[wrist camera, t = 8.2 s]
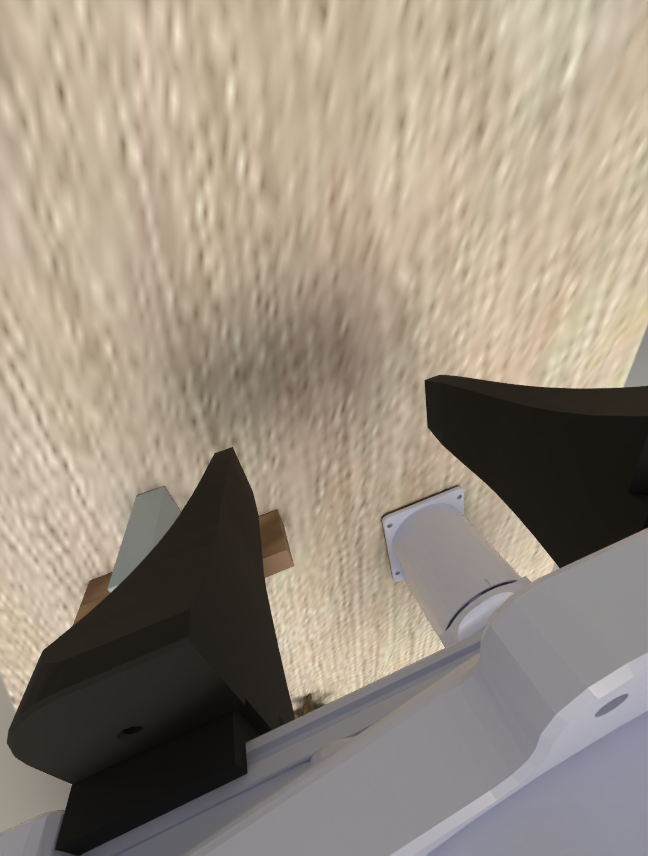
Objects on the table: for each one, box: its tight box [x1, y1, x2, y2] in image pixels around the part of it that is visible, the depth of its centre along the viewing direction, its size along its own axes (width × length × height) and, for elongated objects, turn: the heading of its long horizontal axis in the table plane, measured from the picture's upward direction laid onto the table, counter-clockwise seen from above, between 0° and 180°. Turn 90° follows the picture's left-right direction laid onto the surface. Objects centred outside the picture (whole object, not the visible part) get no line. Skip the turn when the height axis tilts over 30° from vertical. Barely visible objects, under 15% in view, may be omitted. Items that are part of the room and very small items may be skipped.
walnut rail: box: [73, 510, 294, 625], centre depth 23 cm, size 14×2×4 cm, turn 103°
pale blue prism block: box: [107, 486, 181, 593], centre depth 22 cm, size 12×2×7 cm, turn 13°
